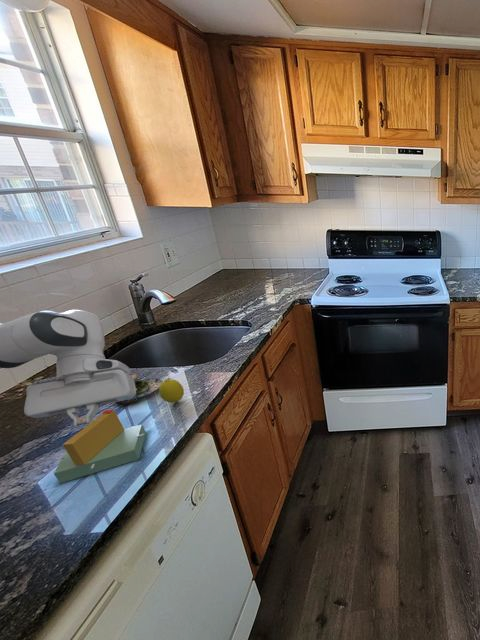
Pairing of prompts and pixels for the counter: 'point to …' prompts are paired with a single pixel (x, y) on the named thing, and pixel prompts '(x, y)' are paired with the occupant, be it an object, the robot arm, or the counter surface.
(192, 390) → the counter surface
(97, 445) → the mustard yellow rectangular block
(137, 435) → the panel
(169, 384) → the lemon
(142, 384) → the plate of food
